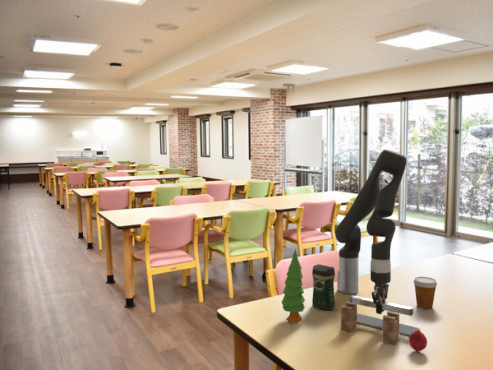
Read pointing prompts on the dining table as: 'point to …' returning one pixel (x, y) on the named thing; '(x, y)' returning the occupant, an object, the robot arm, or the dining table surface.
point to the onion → (418, 340)
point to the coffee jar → (323, 287)
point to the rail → (383, 305)
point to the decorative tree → (293, 291)
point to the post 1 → (349, 317)
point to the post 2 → (391, 328)
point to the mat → (379, 324)
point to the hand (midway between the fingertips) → (380, 312)
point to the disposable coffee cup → (425, 291)
